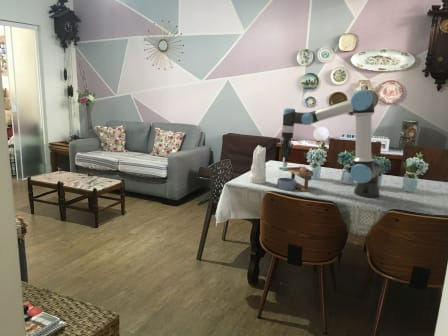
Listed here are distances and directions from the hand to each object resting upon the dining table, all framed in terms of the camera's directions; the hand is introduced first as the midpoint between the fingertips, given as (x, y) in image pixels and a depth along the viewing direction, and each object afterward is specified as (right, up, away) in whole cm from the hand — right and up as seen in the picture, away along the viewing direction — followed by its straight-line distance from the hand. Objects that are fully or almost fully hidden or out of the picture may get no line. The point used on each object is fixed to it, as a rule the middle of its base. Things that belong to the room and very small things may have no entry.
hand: (284, 166), depth 246 cm
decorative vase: (-18, -11, +4) cm, 21 cm away
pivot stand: (+8, -14, -7) cm, 17 cm away
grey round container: (0, -14, -9) cm, 17 cm away
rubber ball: (+10, -2, -11) cm, 15 cm away
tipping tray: (+6, -7, -5) cm, 10 cm away
